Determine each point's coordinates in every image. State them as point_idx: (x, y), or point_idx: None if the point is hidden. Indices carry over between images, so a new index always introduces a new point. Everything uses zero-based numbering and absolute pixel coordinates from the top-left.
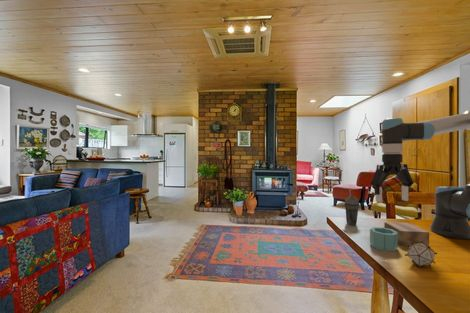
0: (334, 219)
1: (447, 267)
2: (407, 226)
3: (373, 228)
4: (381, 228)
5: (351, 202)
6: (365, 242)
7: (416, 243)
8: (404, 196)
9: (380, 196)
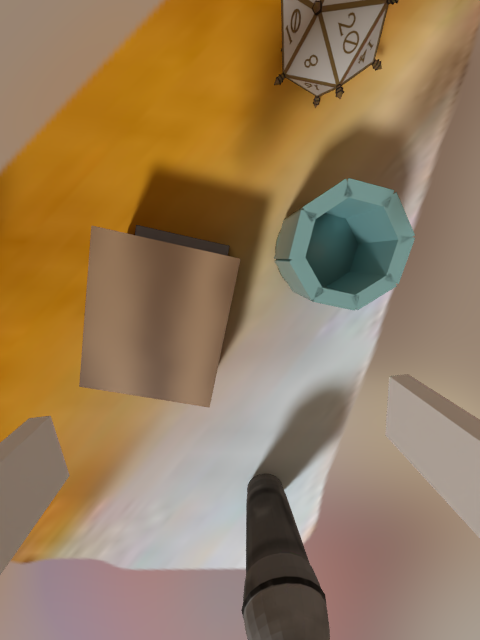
0: None
1: (218, 34)
2: (140, 328)
3: (375, 289)
4: (328, 289)
5: (314, 605)
6: None
7: (360, 2)
8: (23, 486)
9: (473, 417)
